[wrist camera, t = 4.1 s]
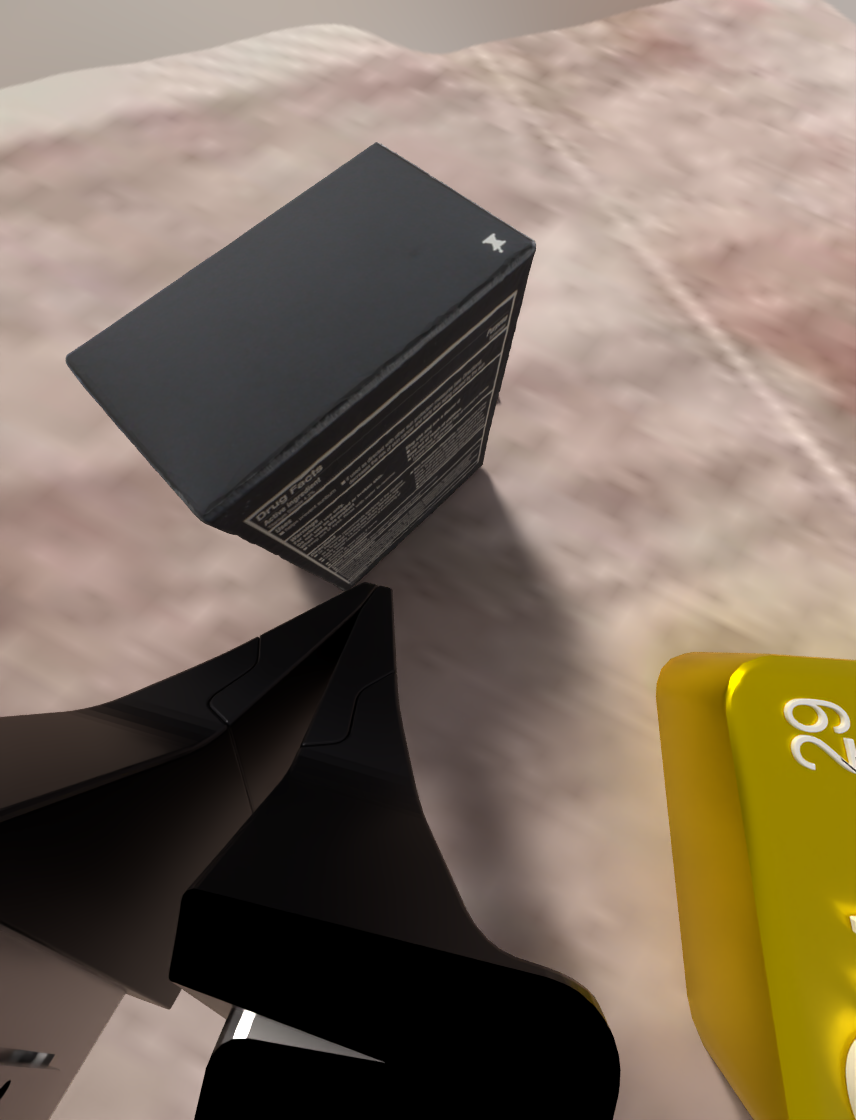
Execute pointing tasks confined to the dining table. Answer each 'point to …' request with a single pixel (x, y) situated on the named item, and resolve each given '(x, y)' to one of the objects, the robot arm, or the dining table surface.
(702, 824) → the element tile
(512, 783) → the dining table surface
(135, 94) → the dining table surface
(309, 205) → the small box
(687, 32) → the dining table surface
